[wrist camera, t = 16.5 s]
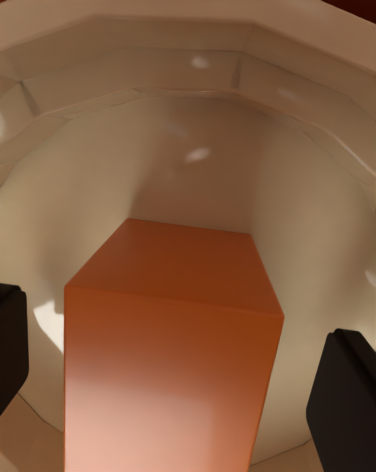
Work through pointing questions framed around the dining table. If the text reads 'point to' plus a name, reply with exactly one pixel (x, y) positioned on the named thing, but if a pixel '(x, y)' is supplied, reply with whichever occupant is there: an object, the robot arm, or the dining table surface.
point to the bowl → (188, 174)
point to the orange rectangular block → (167, 351)
